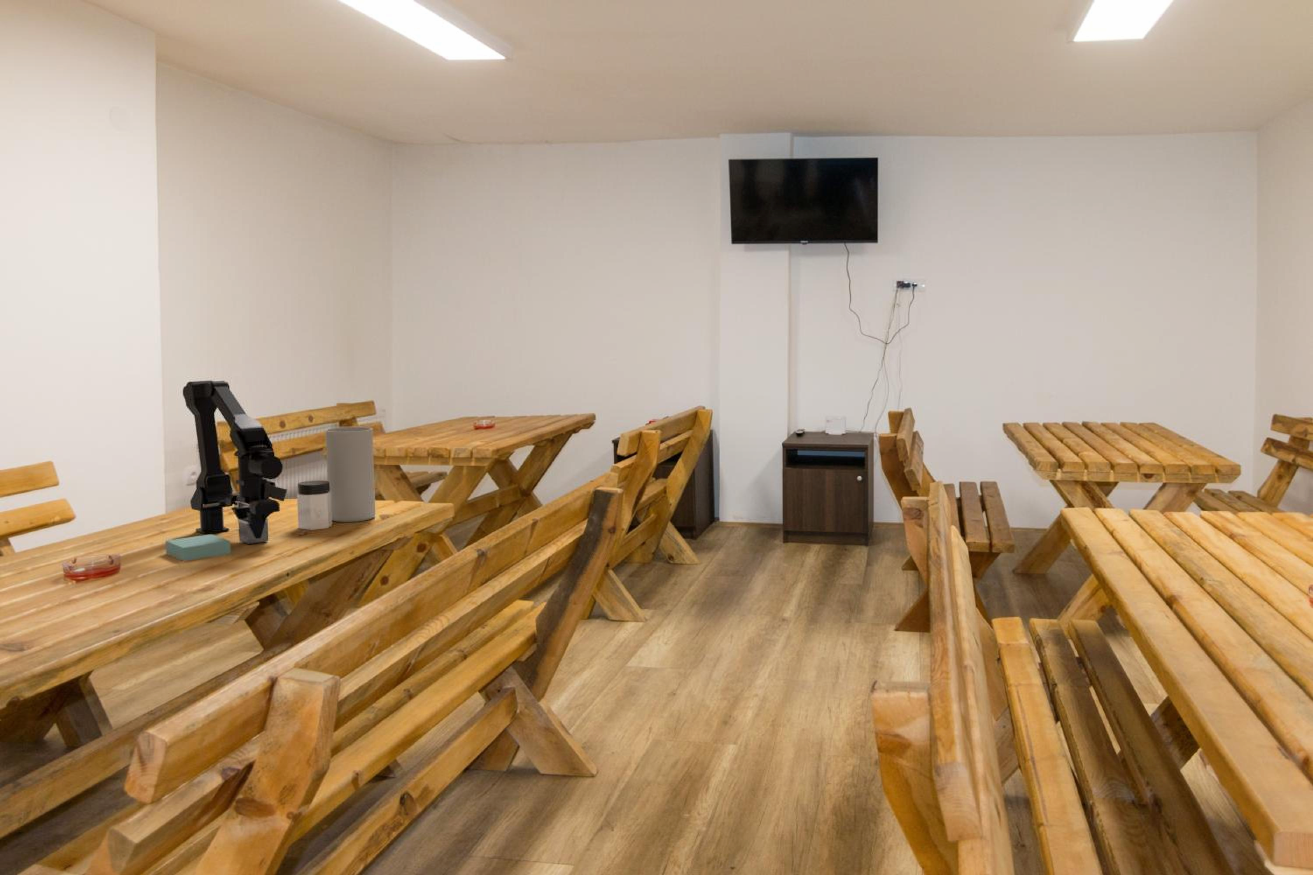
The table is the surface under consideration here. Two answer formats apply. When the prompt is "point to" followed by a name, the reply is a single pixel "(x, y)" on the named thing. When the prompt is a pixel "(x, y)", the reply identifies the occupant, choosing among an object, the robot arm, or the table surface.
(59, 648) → the table surface
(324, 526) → the jar
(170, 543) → the teal box
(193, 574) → the table surface
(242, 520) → the tin
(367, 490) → the cylinder vase
